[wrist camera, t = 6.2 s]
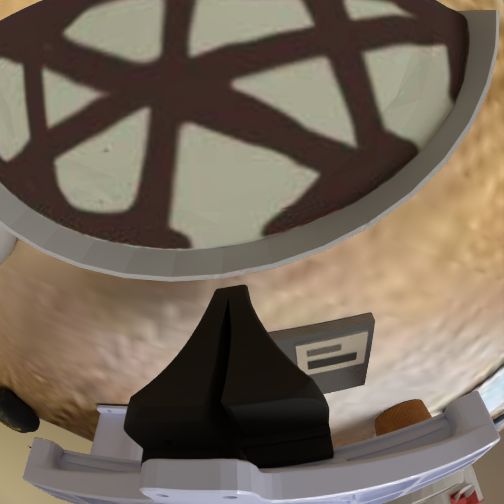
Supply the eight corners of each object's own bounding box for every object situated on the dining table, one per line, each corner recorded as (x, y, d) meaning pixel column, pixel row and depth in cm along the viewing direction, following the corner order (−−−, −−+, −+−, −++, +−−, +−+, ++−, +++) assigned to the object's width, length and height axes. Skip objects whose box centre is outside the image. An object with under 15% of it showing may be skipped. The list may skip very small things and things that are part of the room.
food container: (93, 168, 14) (-37, 290, 5) (85, 51, 10) (-85, 59, 2) (339, 165, 14) (460, 295, 6) (349, 44, 11) (516, 23, 3)
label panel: (224, 400, 24) (224, 411, 23) (197, 342, 20) (196, 354, 19) (361, 377, 24) (365, 387, 23) (371, 312, 20) (376, 323, 19)
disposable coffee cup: (404, 387, 26) (441, 488, 15) (447, 393, 28) (480, 472, 18) (345, 431, 30) (365, 520, 20) (394, 432, 33) (416, 506, 22)
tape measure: (45, 414, 28) (38, 437, 25) (19, 412, 29) (12, 432, 26) (10, 383, 25) (-1, 406, 22) (-13, 383, 26) (-23, 403, 22)
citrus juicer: (478, 425, 40) (507, 500, 23) (444, 457, 50) (464, 520, 32) (417, 450, 40) (442, 537, 23) (389, 476, 49) (405, 546, 32)
